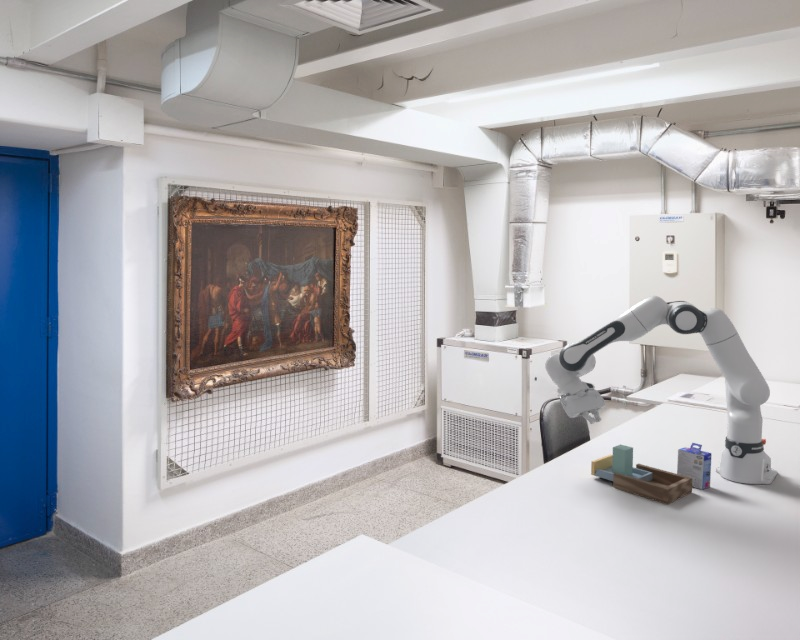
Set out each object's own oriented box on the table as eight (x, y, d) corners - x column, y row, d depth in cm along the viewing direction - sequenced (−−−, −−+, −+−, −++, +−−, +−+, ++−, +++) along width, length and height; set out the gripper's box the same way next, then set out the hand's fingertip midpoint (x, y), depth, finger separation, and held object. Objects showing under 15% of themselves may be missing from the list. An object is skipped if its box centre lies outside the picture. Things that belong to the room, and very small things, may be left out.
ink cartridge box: (711, 486, 226) (712, 446, 224) (703, 490, 222) (704, 449, 221) (684, 479, 233) (685, 439, 232) (675, 482, 230) (677, 442, 229)
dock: (638, 476, 236) (638, 463, 236) (691, 492, 221) (692, 478, 220) (613, 487, 226) (613, 473, 226) (667, 504, 211) (668, 489, 210)
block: (619, 471, 236) (620, 444, 235) (632, 474, 232) (633, 447, 231) (612, 474, 233) (612, 447, 231) (624, 478, 229) (625, 450, 228)
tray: (610, 467, 243) (610, 454, 242) (652, 479, 229) (653, 466, 229) (591, 474, 235) (591, 461, 235) (634, 487, 222) (634, 473, 221)
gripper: (562, 391, 237) (584, 422, 230) (595, 383, 250) (617, 412, 243) (552, 400, 241) (574, 432, 234) (585, 392, 253) (606, 422, 247)
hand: (596, 422), depth 239 cm, fingers open, 2 cm apart
